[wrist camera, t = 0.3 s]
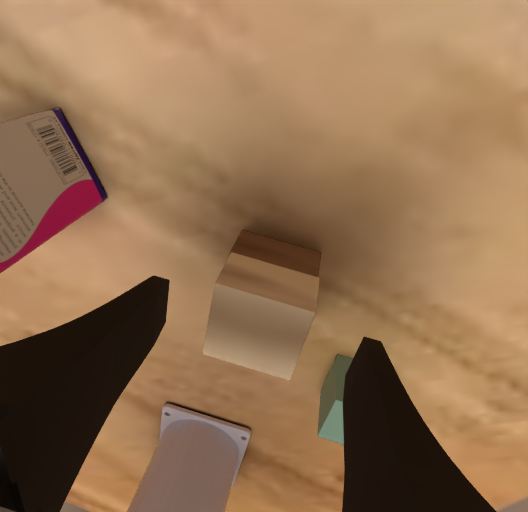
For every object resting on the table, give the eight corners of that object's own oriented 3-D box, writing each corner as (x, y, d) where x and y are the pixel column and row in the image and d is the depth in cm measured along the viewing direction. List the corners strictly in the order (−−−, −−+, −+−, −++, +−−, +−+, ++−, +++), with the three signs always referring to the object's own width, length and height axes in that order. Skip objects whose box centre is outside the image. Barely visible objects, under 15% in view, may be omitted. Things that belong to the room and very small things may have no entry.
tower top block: (296, 342, 23) (289, 380, 20) (218, 318, 23) (202, 353, 21) (319, 277, 20) (316, 312, 18) (231, 252, 21) (215, 282, 18)
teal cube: (371, 404, 29) (375, 454, 25) (320, 388, 29) (317, 436, 25) (392, 369, 26) (399, 419, 23) (337, 353, 27) (335, 399, 23)
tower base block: (300, 311, 26) (295, 342, 23) (229, 291, 26) (216, 319, 23) (321, 251, 23) (318, 278, 20) (242, 228, 23) (229, 253, 21)
